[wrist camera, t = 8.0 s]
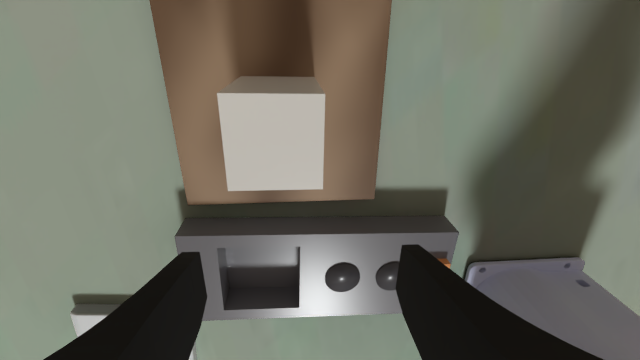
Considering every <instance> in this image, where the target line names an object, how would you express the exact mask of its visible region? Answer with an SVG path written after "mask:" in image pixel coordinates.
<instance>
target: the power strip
mask: <svg viewBox="0 0 640 360" xmlns="http://www.w3.org/2000/svg"><path fill="white" fill-rule="evenodd" d="M458 234H459V232H458V231H457V230H456V228H455V227H454V226H453V225H452V224H451V223H450V222H449V220H448V219H447V218H446V217H445V216H356V217H250V218H185V220H184V222H183V223H182V225H181V227H180V228H179V230H178V232H177V233H176V235H175V241H176V247H177V253H178V255H179V254H180V253H181V252H200V256H201V262H202V268H203V274H204V280H205V286H206V292H207V301H206V305H205V310H204V314H203V318H202V321H210V320H236V319H262V318H288V317H314V316H341V315H367V314H393V313H402V310H401V306H400V303H399V300H398V296H397V292H396V289H395V288H396V281H397V274H398V267H399V261H400V254H401V247H402V245H410V244H418V245H420V246H421V247H423V248H424V249H425V250H427V251H428V252H429V253H430V254H432V255H433V256H434V257H435V258H437V259H438V260H439V261H440V262H442V263H443V264H444V265H445V266H447V267H448V268H449V269H450V266H451V262H452V258H453V254H454V250H455V246H456V242H457V238H458Z"/></svg>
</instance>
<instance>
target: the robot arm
mask: <svg viewBox="0 0 640 360" xmlns="http://www.w3.org/2000/svg"><path fill="white" fill-rule="evenodd" d="M584 265H585V261H584V260H582V259H581V258H579V257H574V258H554V259H534V260H514V261H494V262H475V263H472V264H470V265H469V266H468V269H467V273H466V277H465V280H464V279H462V278H461V277H460V276H458V275H457V274H456V273H454V272H453V271H452V270H451V269H449V268H448V267H447V266H445V265H444V264H443V263H442V262H440V261H439V260H438V259H437V258H435V257H434V256H433V255H432V254H430V253H429V252H428V251H427V250H425V249H424V248H423V247H421V246H420V245H418V244H410V245H402V247H401V254H400V261H399V267H398V274H397V281H396V288H395V289H396V292H397V296H398V300H399V303H400V306H401V310H402V313H403V316H404V318H405V321H406V323H407V325H408V328H409V330H410V333H411V335H412V337H413V340H414V342H415V344H416V346H417V349H418V351H419V353H420V356H421V358H422V360H640V316H638V315H637V314H636V313H634V312H633V311H632V310H631V309H629V308H628V307H627V306H626V305H624V304H623V303H622V302H621V301H619V300H618V299H617V298H616V297H614V296H613V295H612V294H611V293H609V292H608V291H607V290H606V289H604V288H603V287H602V286H600V285H599V284H598V283H597V282H595V281H594V280H593V279H592V278H590V277H589V276H588V275H587V274H585V273H584V272H583V271H582V270H583V267H584ZM481 268H482V269H481ZM206 301H207V292H206V286H205V280H204V274H203V268H202V262H201V256H200V252H181V253H180V254H179V255H178V256H177V257H176V258H174V259H173V260H172V261H171V262H170V263H169V264H168V265H167V266H166V267H164V268H163V269H162V270H161V271H160V272H159V273H158V274H157V275H156V276H154V277H153V278H152V279H151V280H150V281H149V282H148V283H147V284H145V285H144V286H143V287H142V288H141V289H140V290H139V291H137V292H136V293H135V294H134V295H133V296H131V297H130V298H129V299H128V300H126V301H125V302H124V303H123V304H121V305H120V306H119V307H118V308H117V309H115V310H114V311H113V312H112V313H110V314H109V315H108V316H107V317H105V318H104V319H103V320H101V321H100V322H99V323H97V324H96V325H94V326H93V327H92V328H90V329H89V330H88V331H86V332H85V333H83V334H82V335H80V336H79V337H78V338H76V339H75V340H73V341H72V342H70V343H69V344H67V345H66V346H64V347H63V348H61V349H60V350H58V351H56V352H55V353H53V354H52V355H50V356H48V357H47V358H45V359H44V360H189V357H190V354H191V352H192V349H193V346H194V343H195V340H196V338H197V335H198V332H199V329H200V326H201V323H202V318H203V314H204V310H205V305H206Z"/></svg>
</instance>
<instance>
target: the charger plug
mask: <svg viewBox="0 0 640 360" xmlns="http://www.w3.org/2000/svg"><path fill="white" fill-rule="evenodd" d="M217 98H218V107H219V116H220V125H221V134H222V143H223V152H224V161H225V170H226V179H227V187H228V191H259V190H312V189H323V166H324V126H325V93H324V91H323V89H322V88H321V86H320V85H319V83H318V81H317V80H316V78H315V77H279V76H240V77H239V78H238V79H236V80H235V81H233V82H232V83H231V84H229V85H228V86H226V87H225V88H223V89H222V90H221V91H219V92H218V93H217Z"/></svg>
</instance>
